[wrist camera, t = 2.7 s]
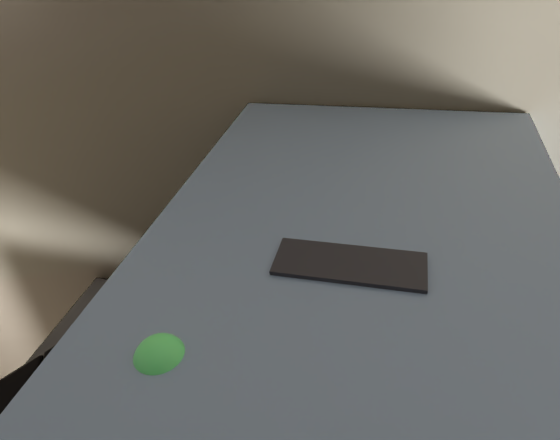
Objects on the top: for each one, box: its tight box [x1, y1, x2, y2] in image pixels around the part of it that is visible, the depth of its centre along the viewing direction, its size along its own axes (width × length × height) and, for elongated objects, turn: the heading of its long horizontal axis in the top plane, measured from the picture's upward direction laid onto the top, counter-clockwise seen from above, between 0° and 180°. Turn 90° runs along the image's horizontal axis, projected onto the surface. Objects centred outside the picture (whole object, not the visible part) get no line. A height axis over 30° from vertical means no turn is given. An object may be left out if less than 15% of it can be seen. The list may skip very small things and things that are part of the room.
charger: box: [0, 103, 560, 440], centre depth 8 cm, size 8×5×7 cm, turn 3°
